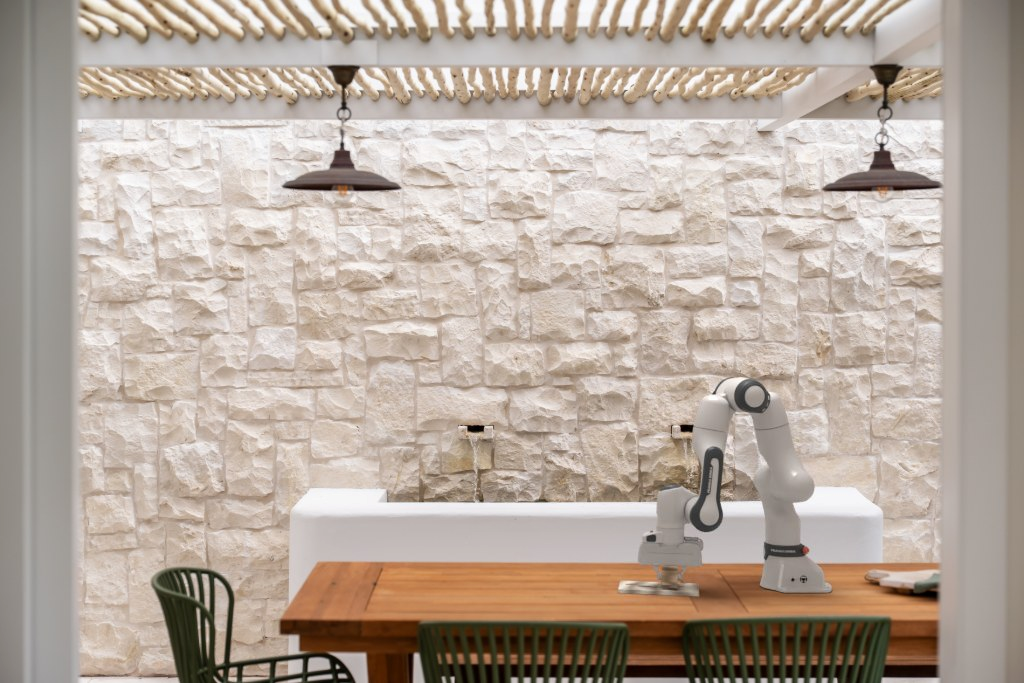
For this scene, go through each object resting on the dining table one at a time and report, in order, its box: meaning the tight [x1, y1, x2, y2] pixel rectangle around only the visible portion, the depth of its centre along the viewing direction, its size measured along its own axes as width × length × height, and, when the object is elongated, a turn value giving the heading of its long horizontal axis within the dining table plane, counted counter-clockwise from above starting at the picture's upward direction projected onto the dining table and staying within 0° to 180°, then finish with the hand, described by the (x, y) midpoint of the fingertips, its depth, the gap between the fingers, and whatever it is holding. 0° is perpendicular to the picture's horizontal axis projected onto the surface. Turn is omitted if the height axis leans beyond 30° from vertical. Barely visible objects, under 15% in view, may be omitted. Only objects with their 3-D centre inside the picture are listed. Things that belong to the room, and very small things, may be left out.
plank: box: [617, 579, 700, 597], centre depth 352 cm, size 25×13×1 cm, turn 82°
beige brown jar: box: [660, 566, 679, 588], centre depth 351 cm, size 5×9×5 cm, turn 172°
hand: (669, 579), depth 351 cm, fingers closed on beige brown jar, 5 cm apart
